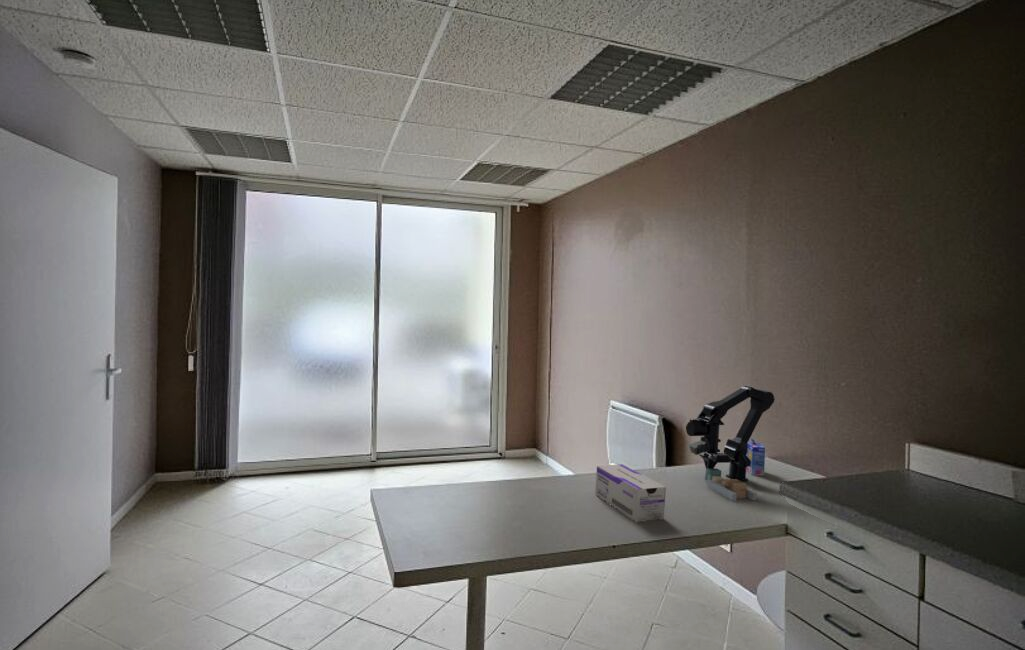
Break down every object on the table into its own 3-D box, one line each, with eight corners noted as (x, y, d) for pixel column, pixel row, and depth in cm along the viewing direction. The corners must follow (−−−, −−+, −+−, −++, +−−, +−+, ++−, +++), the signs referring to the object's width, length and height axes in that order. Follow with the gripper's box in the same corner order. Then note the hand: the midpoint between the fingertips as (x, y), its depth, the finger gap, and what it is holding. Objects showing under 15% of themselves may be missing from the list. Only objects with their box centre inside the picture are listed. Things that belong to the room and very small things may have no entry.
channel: (707, 485, 208) (707, 479, 208) (729, 485, 211) (730, 479, 210) (732, 500, 193) (732, 493, 193) (756, 500, 195) (757, 493, 195)
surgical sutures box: (663, 519, 172) (665, 486, 171) (635, 522, 168) (637, 489, 167) (620, 493, 195) (622, 464, 195) (595, 495, 191) (597, 466, 191)
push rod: (705, 479, 214) (705, 468, 214) (716, 479, 215) (716, 468, 215) (723, 490, 202) (724, 478, 202) (735, 490, 203) (736, 478, 203)
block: (723, 492, 202) (724, 479, 202) (735, 492, 203) (736, 479, 203) (733, 498, 196) (734, 484, 196) (745, 497, 197) (746, 484, 197)
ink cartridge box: (743, 468, 236) (745, 435, 236) (756, 469, 236) (758, 436, 235) (751, 475, 227) (753, 441, 226) (764, 476, 226) (766, 442, 226)
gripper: (681, 430, 223) (678, 466, 224) (706, 441, 205) (703, 481, 205) (705, 430, 225) (702, 466, 226) (732, 441, 207) (729, 481, 208)
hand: (708, 473), depth 216 cm, fingers closed
